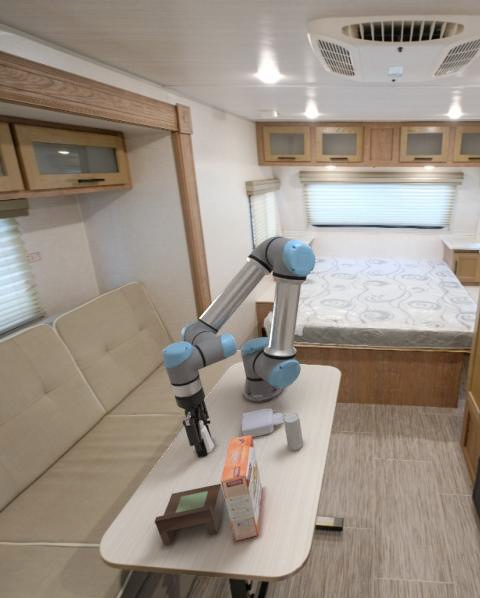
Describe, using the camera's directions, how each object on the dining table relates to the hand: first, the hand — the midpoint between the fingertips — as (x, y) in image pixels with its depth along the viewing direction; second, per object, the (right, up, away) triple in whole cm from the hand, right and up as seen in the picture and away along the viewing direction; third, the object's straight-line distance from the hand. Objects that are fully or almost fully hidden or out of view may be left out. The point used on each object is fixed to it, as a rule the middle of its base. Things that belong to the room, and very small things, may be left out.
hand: (205, 448), depth 113 cm
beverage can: (+29, 0, +2) cm, 29 cm away
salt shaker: (0, -1, 0) cm, 1 cm away
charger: (+17, +3, +10) cm, 20 cm away
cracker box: (+24, -9, -20) cm, 33 cm away
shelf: (+10, -10, -22) cm, 26 cm away
